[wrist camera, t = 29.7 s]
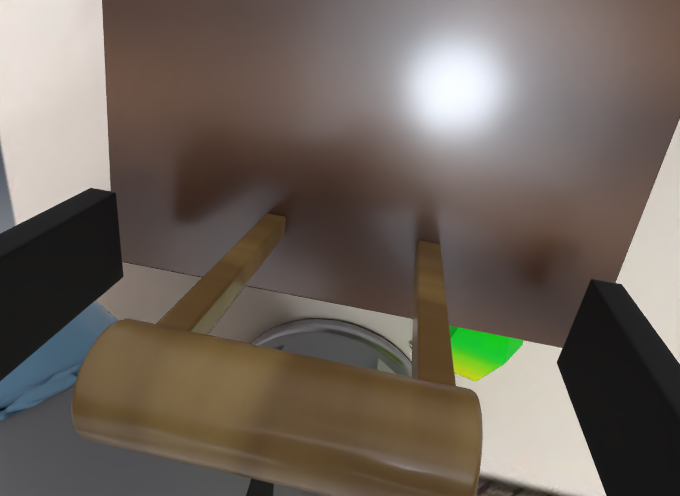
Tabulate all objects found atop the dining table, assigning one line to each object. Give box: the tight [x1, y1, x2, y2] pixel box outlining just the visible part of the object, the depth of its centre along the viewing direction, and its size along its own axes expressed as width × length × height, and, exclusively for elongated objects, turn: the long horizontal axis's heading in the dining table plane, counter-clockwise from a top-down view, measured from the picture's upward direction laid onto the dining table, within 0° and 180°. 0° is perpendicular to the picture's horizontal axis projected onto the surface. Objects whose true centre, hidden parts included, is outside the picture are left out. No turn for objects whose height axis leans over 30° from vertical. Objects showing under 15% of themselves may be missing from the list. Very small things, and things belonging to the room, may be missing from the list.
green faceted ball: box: [408, 326, 523, 381], centre depth 31 cm, size 7×6×9 cm
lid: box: [71, 0, 680, 496], centre depth 10 cm, size 16×17×10 cm
